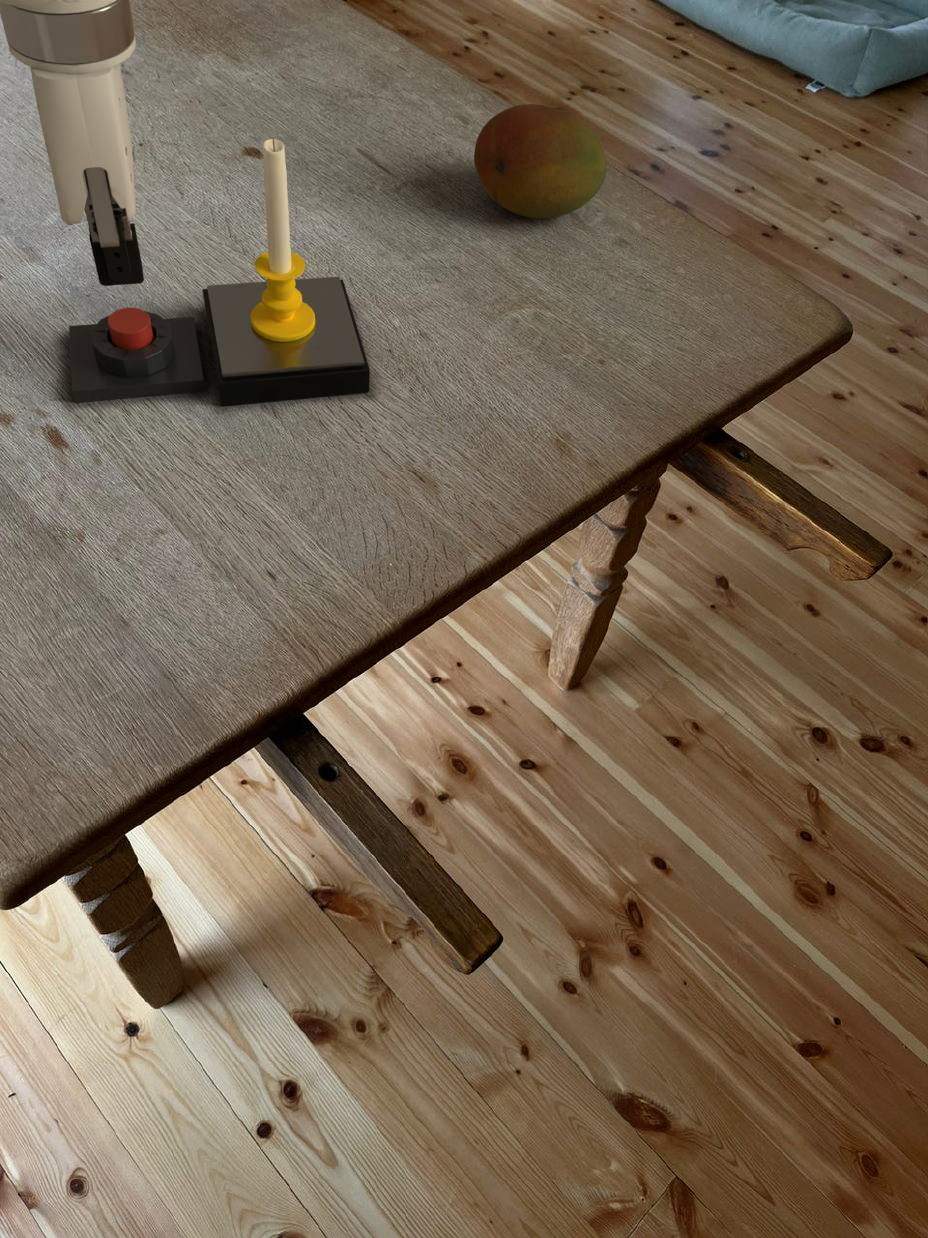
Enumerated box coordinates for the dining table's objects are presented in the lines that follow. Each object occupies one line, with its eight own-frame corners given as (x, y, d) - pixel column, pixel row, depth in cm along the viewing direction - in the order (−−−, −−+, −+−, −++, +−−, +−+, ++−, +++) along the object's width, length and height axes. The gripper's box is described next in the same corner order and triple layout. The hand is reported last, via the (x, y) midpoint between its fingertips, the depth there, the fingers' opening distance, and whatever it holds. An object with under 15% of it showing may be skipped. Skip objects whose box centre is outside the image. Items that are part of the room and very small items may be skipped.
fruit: (451, 196, 101) (460, 96, 93) (540, 161, 107) (557, 64, 99) (529, 255, 97) (546, 155, 88) (619, 215, 102) (642, 117, 94)
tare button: (112, 352, 79) (108, 334, 77) (110, 326, 81) (106, 308, 79) (154, 349, 80) (151, 331, 78) (151, 323, 81) (148, 305, 80)
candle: (326, 331, 82) (323, 148, 70) (268, 349, 80) (254, 163, 68) (297, 295, 85) (290, 111, 72) (240, 311, 83) (222, 125, 70)
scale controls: (75, 403, 79) (66, 373, 76) (72, 337, 83) (64, 307, 81) (205, 391, 81) (201, 361, 79) (195, 327, 86) (191, 298, 83)
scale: (221, 406, 80) (217, 377, 78) (205, 312, 87) (201, 282, 84) (369, 392, 83) (370, 363, 80) (342, 302, 90) (343, 272, 87)
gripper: (2, -36, 64) (66, 223, 79) (1, 83, 56) (73, 347, 71) (124, -36, 66) (165, 217, 81) (140, 79, 58) (182, 338, 73)
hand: (121, 277), depth 76 cm, fingers closed
